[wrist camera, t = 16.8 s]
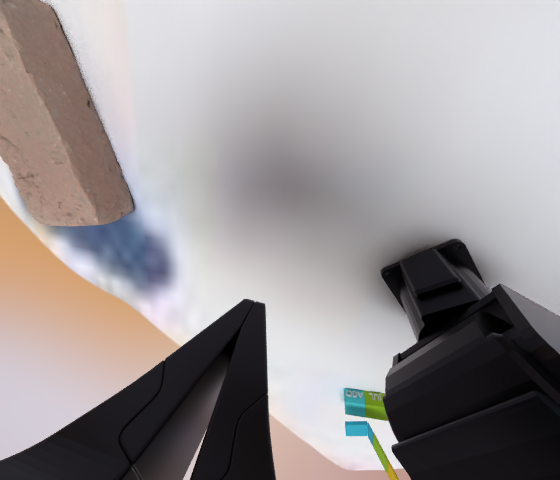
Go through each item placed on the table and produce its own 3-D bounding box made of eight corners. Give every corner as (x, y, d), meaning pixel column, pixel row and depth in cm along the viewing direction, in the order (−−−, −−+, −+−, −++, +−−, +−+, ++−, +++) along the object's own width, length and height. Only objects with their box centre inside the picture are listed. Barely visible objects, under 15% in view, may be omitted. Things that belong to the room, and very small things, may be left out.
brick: (-14, 25, 18) (-116, -3, 14) (57, 1, 16) (-37, -41, 12) (85, 212, 25) (37, 228, 21) (142, 211, 23) (102, 229, 19)
